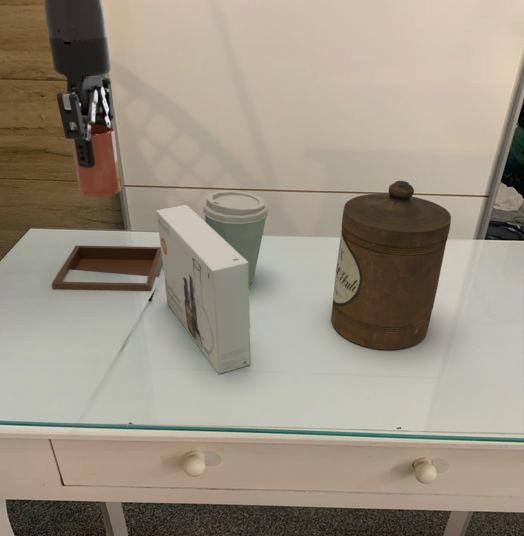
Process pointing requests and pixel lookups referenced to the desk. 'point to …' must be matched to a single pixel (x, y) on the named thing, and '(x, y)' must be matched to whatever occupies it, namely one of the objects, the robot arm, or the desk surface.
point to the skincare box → (206, 287)
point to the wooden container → (388, 267)
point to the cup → (99, 165)
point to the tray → (112, 267)
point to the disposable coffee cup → (238, 222)
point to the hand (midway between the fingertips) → (95, 159)
